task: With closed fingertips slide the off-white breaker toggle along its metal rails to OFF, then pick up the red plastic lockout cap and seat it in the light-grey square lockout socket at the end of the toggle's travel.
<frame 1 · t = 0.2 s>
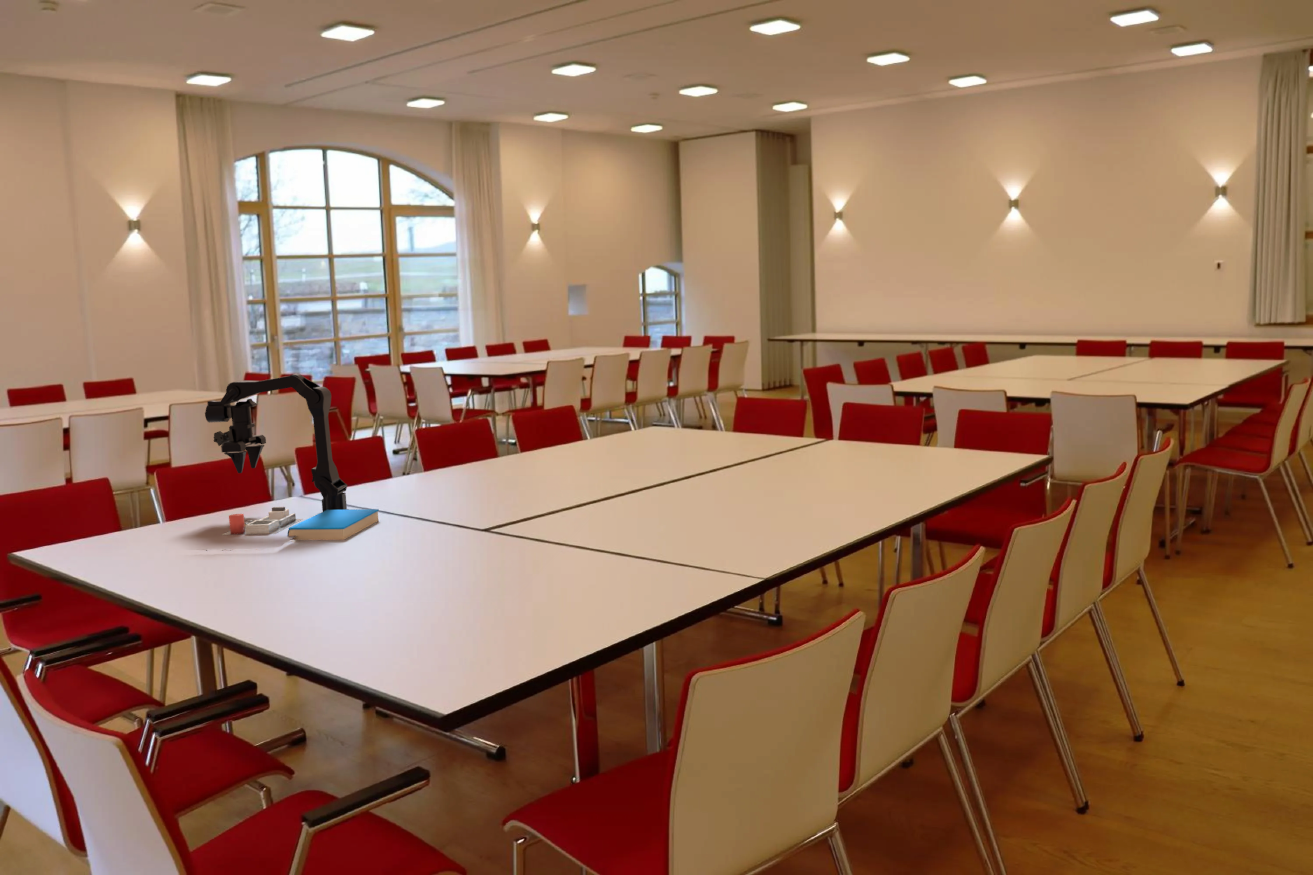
hand: (246, 470, 339), 14 cm above the table, fingers open, 9 cm apart
breaker: (278, 514, 322), point 3 cm above the table, slide at 0.0 cm
book: (335, 532, 315), on the table
panel: (263, 530, 318), on the table
lockout cap: (237, 532, 311), point 1 cm above the table, touching panel
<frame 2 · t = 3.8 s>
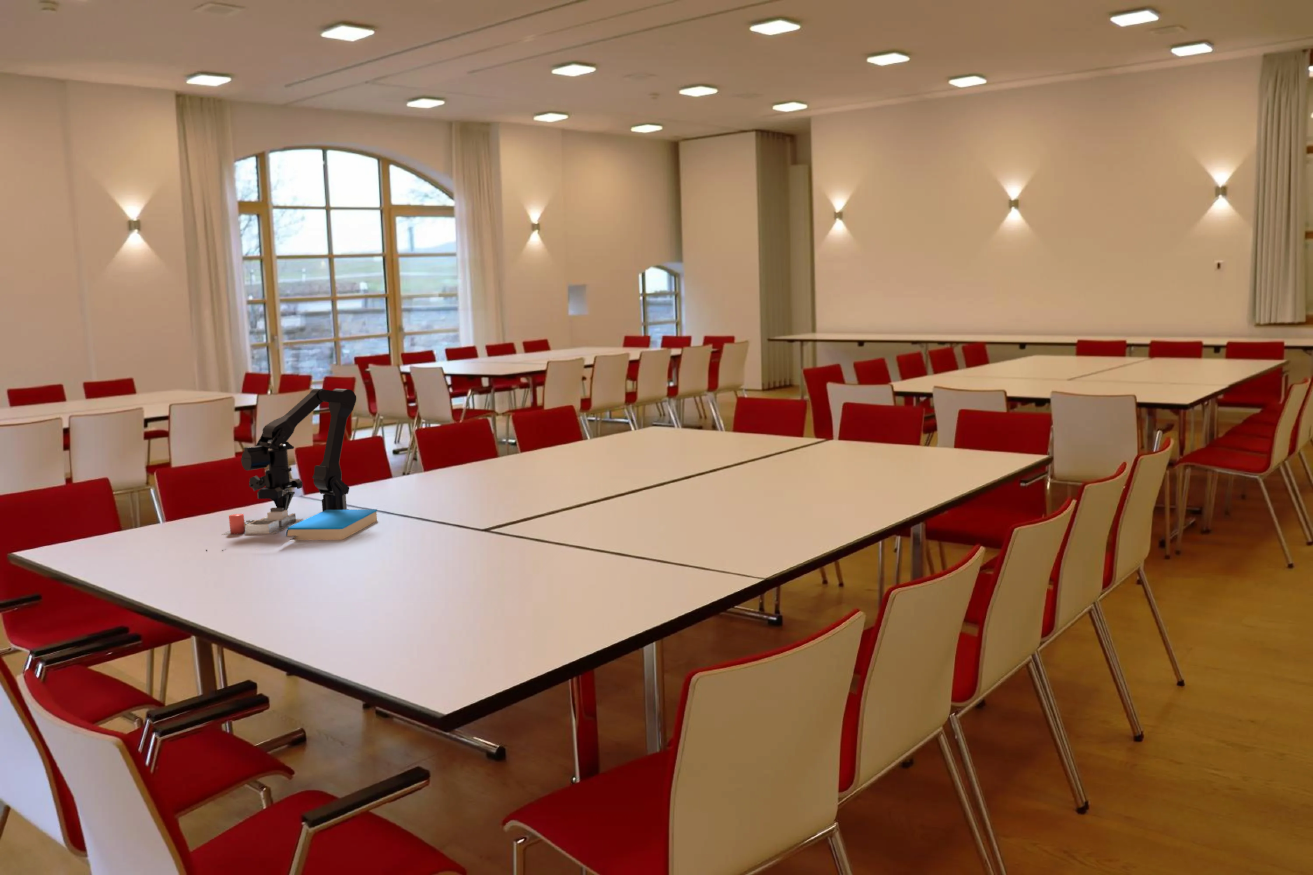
hand: (282, 516, 325), 2 cm above the table, fingers closed
breaker: (277, 515, 322), point 3 cm above the table, slide at 0.9 cm, touching gripper
everything else where it was.
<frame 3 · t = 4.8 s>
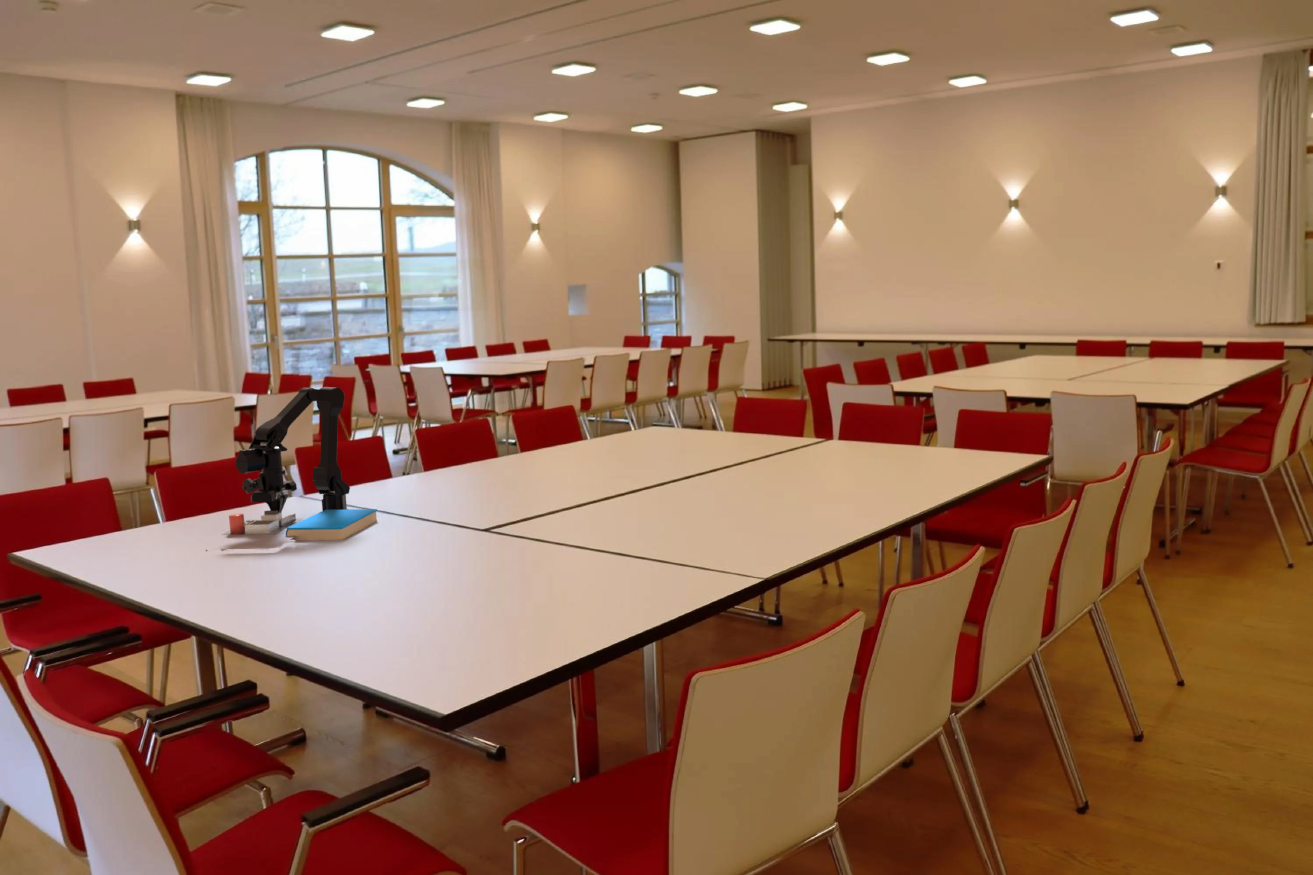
hand: (276, 519, 321), 2 cm above the table, fingers closed
breaker: (271, 518, 317), point 3 cm above the table, slide at 5.1 cm, touching gripper
everything else where it was.
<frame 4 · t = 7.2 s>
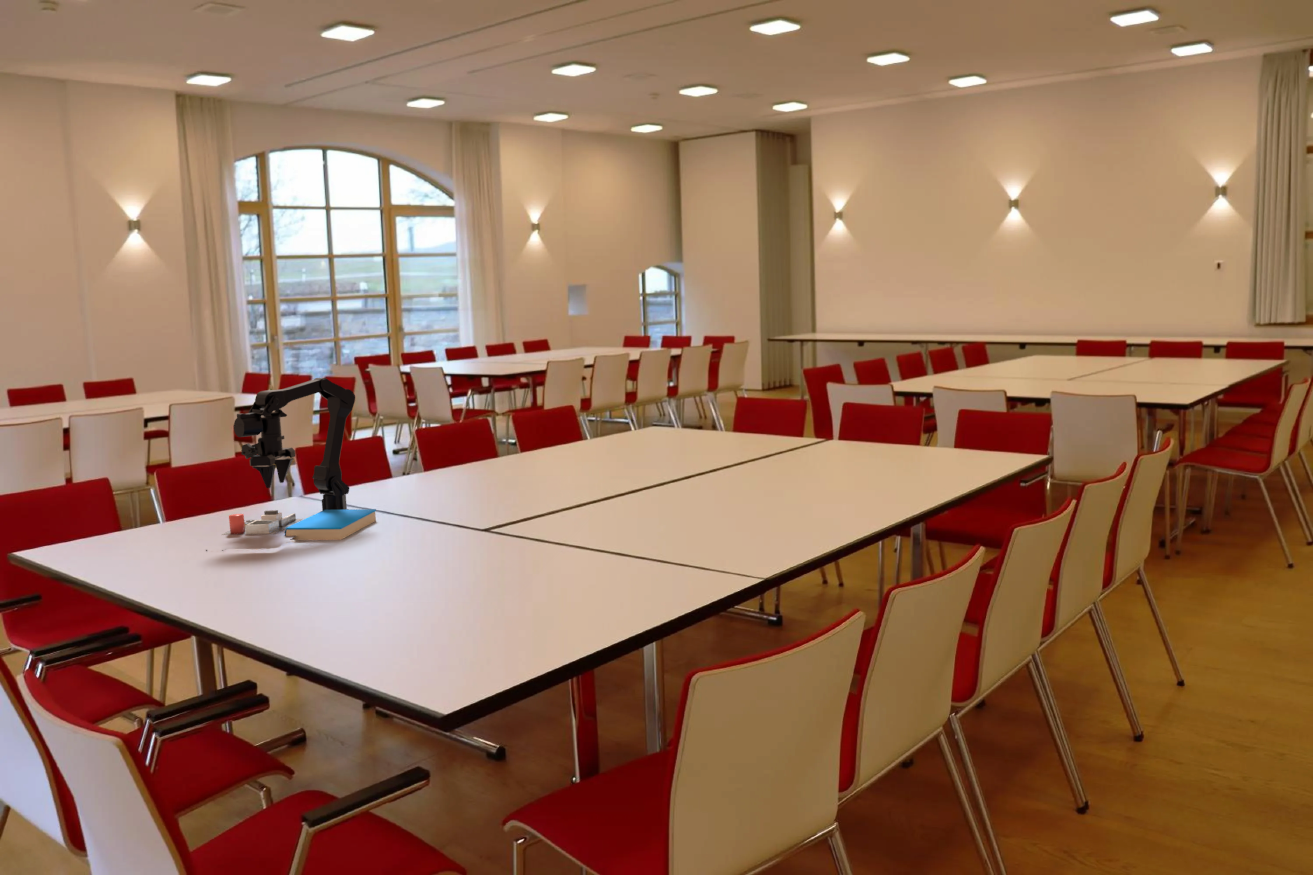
hand: (275, 485, 322), 12 cm above the table, fingers open, 9 cm apart
breaker: (271, 518, 318), point 3 cm above the table, slide at 5.0 cm
everything else where it was.
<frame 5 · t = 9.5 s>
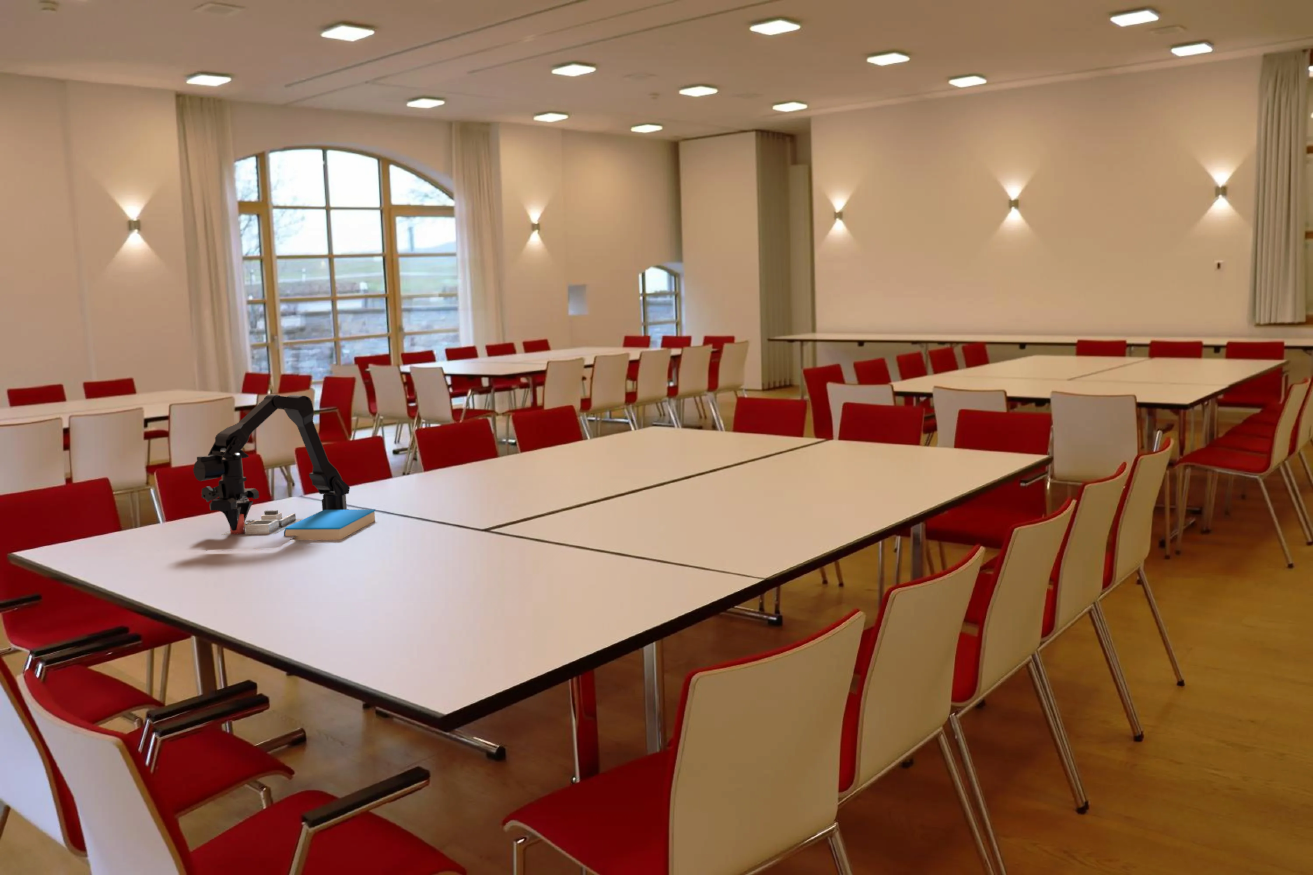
hand: (237, 528, 311), 2 cm above the table, fingers closed on lockout cap, 4 cm apart
lockout cap: (237, 532, 311), point 1 cm above the table, touching gripper, panel
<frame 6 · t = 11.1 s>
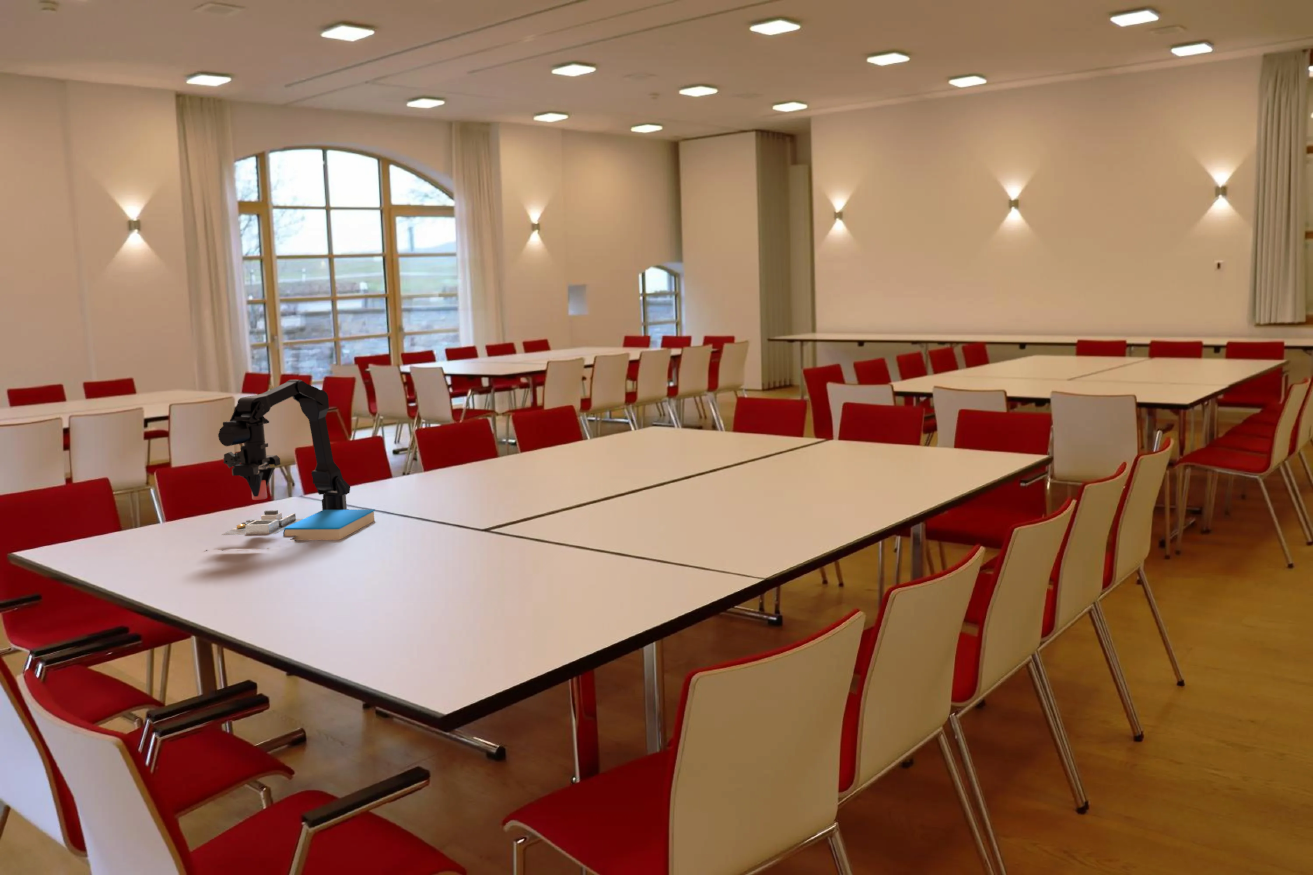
hand: (259, 494, 310), 12 cm above the table, fingers closed on lockout cap, 4 cm apart
lockout cap: (259, 498, 310), point 11 cm above the table, touching gripper
when the fingers open (4 cm above the table, at t = 12.7 s): lockout cap drops 2 cm, resting on panel.
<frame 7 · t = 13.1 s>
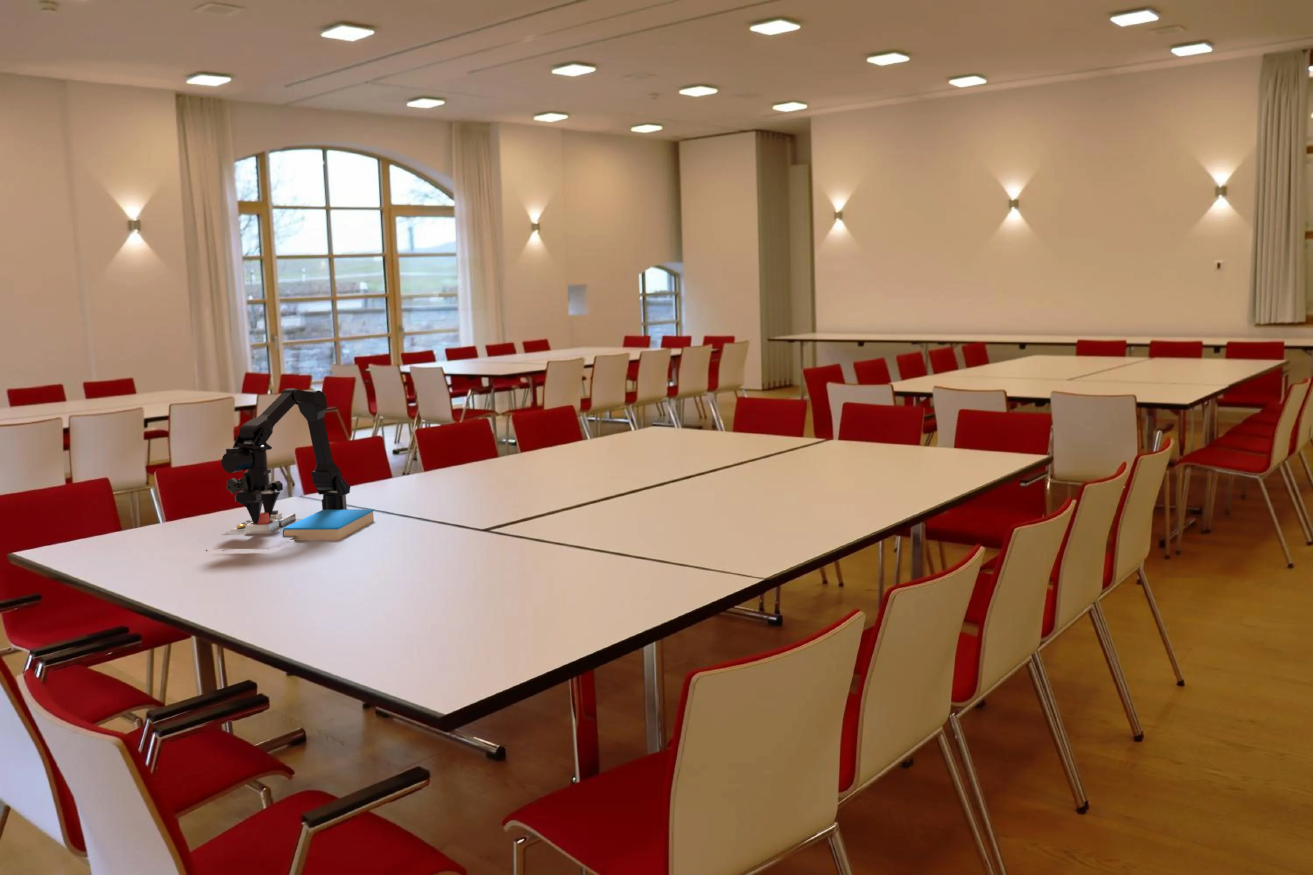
hand: (262, 520, 311), 4 cm above the table, fingers open, 8 cm apart
breaker: (271, 518, 318), point 3 cm above the table, slide at 5.0 cm, touching gripper
lockout cap: (262, 530, 311), point 1 cm above the table, touching panel
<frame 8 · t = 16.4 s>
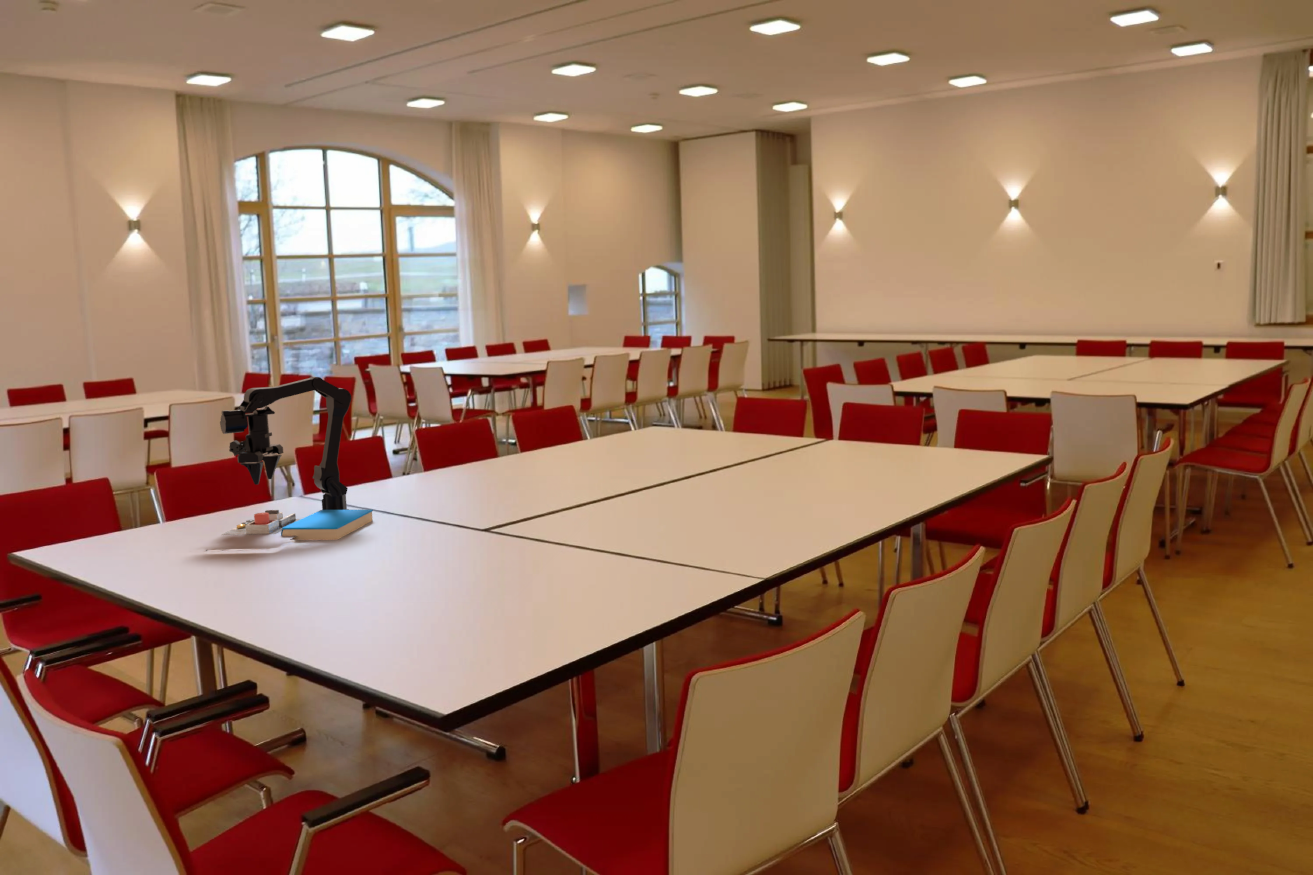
hand: (263, 481, 325), 13 cm above the table, fingers open, 9 cm apart
breaker: (272, 517, 318), point 3 cm above the table, slide at 4.5 cm
at the end: breaker slide at 4.5 cm; lockout cap 0.0 cm from the target spot on the panel, point 1.2 cm above the panel's base; lockout cap tilted 0° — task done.
